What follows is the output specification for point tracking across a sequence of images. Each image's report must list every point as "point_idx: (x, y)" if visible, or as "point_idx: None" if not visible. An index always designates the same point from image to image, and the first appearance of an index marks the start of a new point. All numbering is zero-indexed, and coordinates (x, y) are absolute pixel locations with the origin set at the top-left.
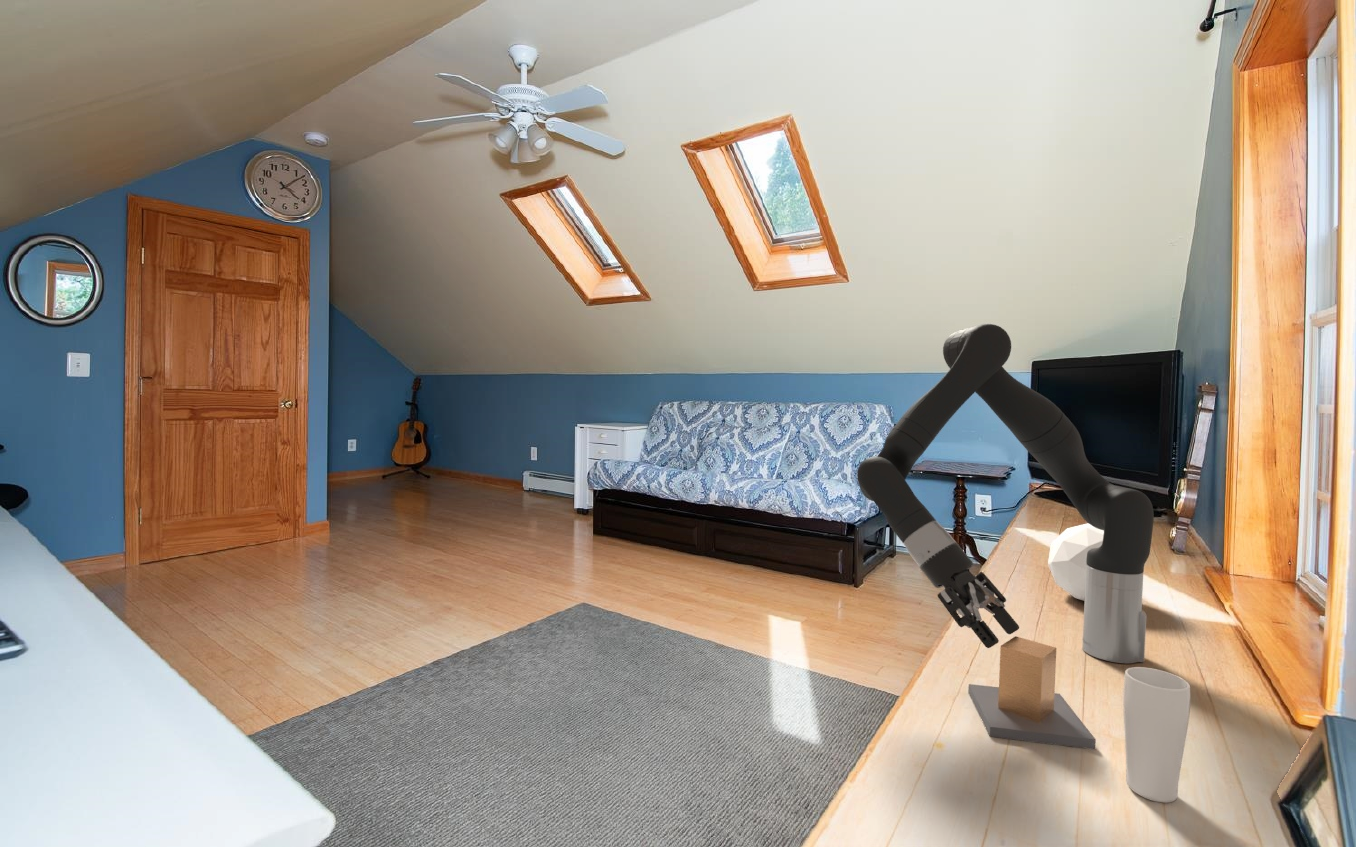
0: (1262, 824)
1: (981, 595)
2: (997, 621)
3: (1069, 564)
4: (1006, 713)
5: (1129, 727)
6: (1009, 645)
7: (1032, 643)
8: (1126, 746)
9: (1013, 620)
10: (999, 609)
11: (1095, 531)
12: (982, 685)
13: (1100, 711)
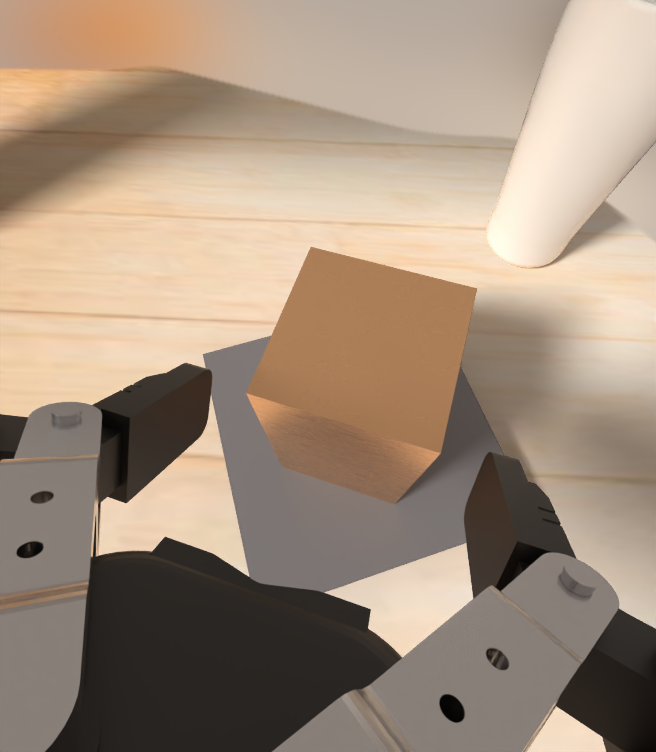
0: (504, 141)
1: (162, 593)
2: (155, 476)
3: None
4: (417, 479)
5: (632, 164)
6: (407, 413)
7: (312, 323)
8: (579, 213)
9: (173, 377)
10: (113, 444)
11: None
12: (248, 564)
13: (217, 290)
